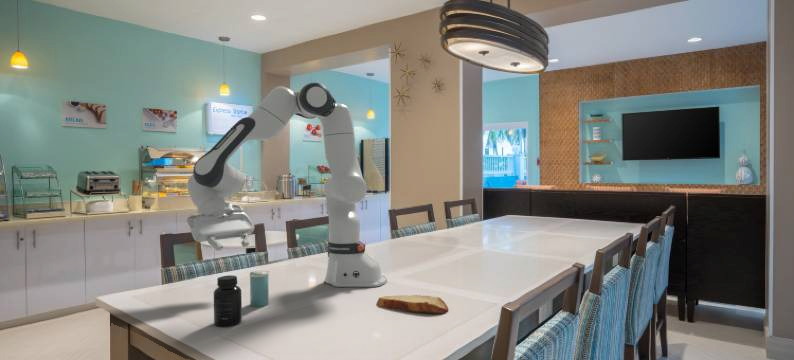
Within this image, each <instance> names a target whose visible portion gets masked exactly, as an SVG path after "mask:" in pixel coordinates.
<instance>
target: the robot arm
mask: <svg viewBox="0 0 794 360" xmlns="http://www.w3.org/2000/svg"><path fill="white" fill-rule="evenodd" d="M294 115H296V116H299V117H301V118H304V119H308V120H309V119H312V120H313V119H315V118H317V119H318V120H319V121H320V123H321V126H322V134H323V141H324V142H323V144H324V152H325V153H324V155H325V159H326V161H327V163H328V168H329V170H330V174H331V175H329V177H327V178H326V180H325V181H324V184H323V191H324V194H325V195H324V196H325V202H326V209H327V216H328V242H327V249H326V250H327V258H328V259H327V260H328V262H327V268H326V274H325V278H324V282H325V283H326V284H330V285H332V287H336V288H337V287H338V288H339V287H341V288H343V287H345V288H348V287H349V288H350V287H351V288H353V287H354V288H355V287H356V288H357V287H360V288H361V287H363V288H365V287H367V288H369V287H370V288H373V287H374V288H375V287H380V286H383V285H384V284H386V283H387V282H388V276H386V275H384V274H383V275H382V271H381V266H380V263H379V262H378V261H377V260H376V259H374V258H373V257H372V256H370V255H369V254H368V253H367V252H366V243H364V242H362V241H361V240H360V239H361V238H360V237H361V235H360V233H361V231H360V230H361V229H360V224H361V223H360V222H361V221H360V217H359V214H358V211H357V205H356V204H357V203H359V202H361V201H362V200H364V199H365V197H366V196H367V192H368V185H367V183H366V180H364V177H363V173H362V169H361V166H360V162H359V160H358V154H357V145H356V137H355V127H354V123H353V118H352V114H351V111H350V108H349V107H348V106H347V105H345V104H343V103H339V102H336V100H335V99H334V97H333V95H332V94H331V91H330V90H329V89H328V88H327V87H326V86H325V85H324V84H322V83H321V82H310V83H309V82H308V83H306V84H305V85H304V86H303V87H302V88H301V89H300V90H299V91H293V90H291V89H290V88H289V87H286V86H283V85H282V86H281V85H280V86H276V87H275V88H273V89H272V90H271V91H270V92H268V94H267V95H266V96H265V97H264V98H263V99H262V101H261V102H260V103H259V104H258V106H257V107H256V108H255V110H254V111H253V112H252V113H250V114H249V115H247V116H245V117H243V118H241V119H239V120H238V121H237V122H235V124H234V125H233V126H232V127H230V129H229V130H227V132H226V133H225V134H224V135H223V136H222V137H221V138H220V139H219V140H218V141H217V142H216V143H215V144H214V145H213V146H212V148H210V149H209V150H208V151H207V152H206V153H204V154H203V155H202V156H201V157H199V158H198V159H197V160H196V162H195V164H194V165H193V171H192V173H193V174H192V175H190V177H189V178H188V180H187V183H186V188H187V193H188V194H189V197H190V199H191V201H192V203H193V205H194V207H196V209H197V213H198V214H196V215H194V214H193V215H190V216H189V217H187V218H186V222H187V225H188V226H189V230H190V232H191V235H192V238H193V240H194V241H195V242H197V243H201V242H202V243H204V242H207V243H208V244H209V245H210V246H212V247H214V249H215V250H216V251H217V252H218V251H222V250H223V248H224V246H223V245H222V242H219V241H220V240H227V239H235V238H240V239H242V241H241V242H240V244H241V246H242V247H244V248H245V247H248V246H249V245H250V242H249V240H248V239H249V237H250V236H251V235H252V234H253V232H254V231H255V227H256V226H255V224H254V223H253V221H252V220H251V218H250V217H249V215H248V214H247V213H245V212H244V211H245V210H244V207H243V206H241V205H237V204H234V203H229V202H227V201H226V200H228V199H231V198H232V197H234V196H235V195H237V194H238V193H240V192H241V191H242V189H243V188H244V187H245V186H244V185H245V179H246V178H245V174H244V173H243V172H242V171H241V170H240V169H238V168H236V167H235V166H233V165H231V164H229V163H228V161H229V160H230V159H231V157H232V156H234V154H235V153H236V152H237V151H238V150H239V149H240V147H241V146H243V145H244V144H245V143H247V142H248V141H253V140H256V141H266V142H267V141H271V140H274V139H276V138H277V137H278V136H279V135H280V134H281V132H283V130H284V129H285V128H286V126H287V124H288V123H289V121H290V120H291V119H292V117H293V116H294ZM218 240H219V241H218Z"/></svg>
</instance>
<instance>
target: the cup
mask: <svg viewBox="0 0 794 360" xmlns="http://www.w3.org/2000/svg"><path fill="white" fill-rule="evenodd" d="M269 275H270V272H269V271H268V270H254V271H251V272H249V280H250V281H249V287H250V289H249V292H250V294H249V296H250V297H249V298H250V300H249V301H250V303H249V306H250V307H253V308H263V307H267V306H268V305H269V300H270V299H269V295H270V294H269V290H270V288H269V287H270V286H269Z"/></svg>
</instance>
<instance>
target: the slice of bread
mask: <svg viewBox="0 0 794 360" xmlns="http://www.w3.org/2000/svg"><path fill="white" fill-rule="evenodd" d="M376 306H378V307H382V308H386V309H391V310H396V311H401V312H409V313H416V314H419V313H420V314H429V313H430V315H431V314H432V315H442V314H441V313H443V314H447V313H449V307H448V305H447V303H446V302H445V301H444V300H443V299H442V298H441V297H439V296H432V295H431V296H430V295H420V294H419V295H418V294H416V295H415V294H414V295H413V294H412V295H407V294H405V295H387V296H381V297H378V299H377V302H376ZM446 312H447V313H446Z"/></svg>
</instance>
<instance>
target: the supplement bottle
mask: <svg viewBox="0 0 794 360" xmlns="http://www.w3.org/2000/svg"><path fill="white" fill-rule="evenodd" d="M216 282H217V284H216V286H217V287H216V288H215V289H214V291H213V323H214V325H215V326H216V327H219V328H229V327H233V326H234V327H235V326H236V325H239V324H240V323H241V322H242V320H243V317H242V315H243V313H242V311H243V310H242V307H243V306H242V289H241V287H240V286H238V276H237V275H223V276H219V277H217V281H216Z"/></svg>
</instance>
